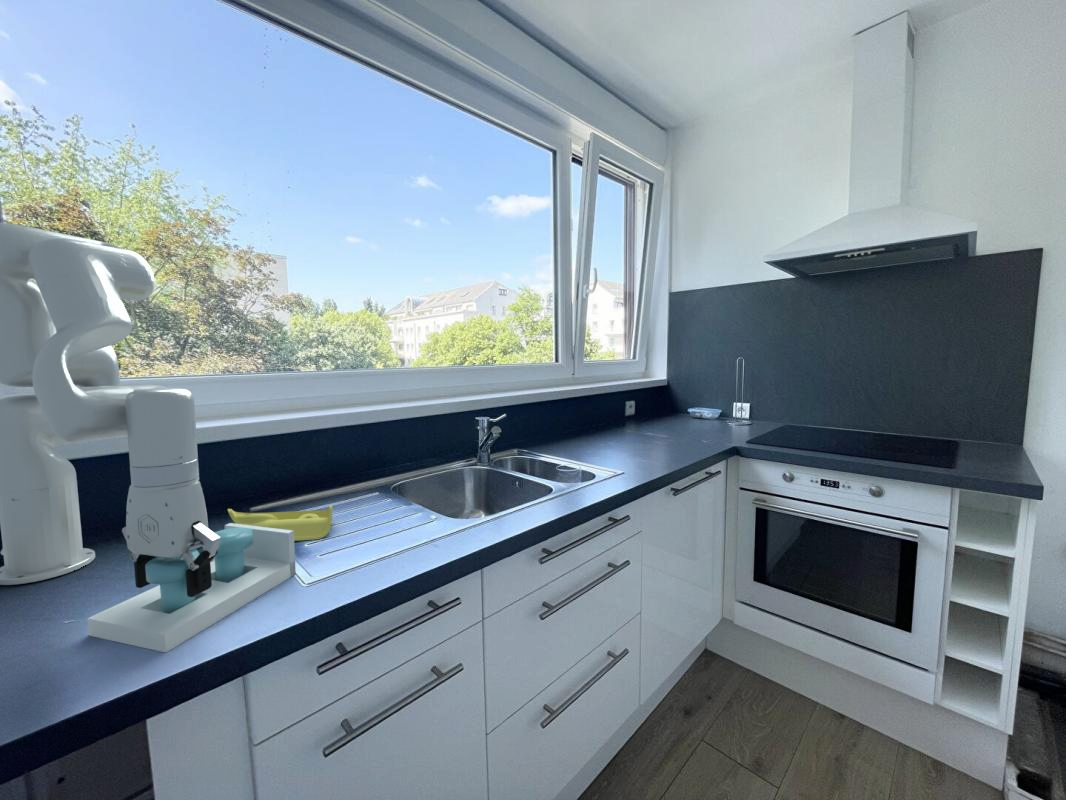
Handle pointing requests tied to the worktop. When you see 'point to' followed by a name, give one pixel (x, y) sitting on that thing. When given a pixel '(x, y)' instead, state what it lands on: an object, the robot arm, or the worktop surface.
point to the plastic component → (290, 522)
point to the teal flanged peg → (232, 553)
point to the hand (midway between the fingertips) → (174, 587)
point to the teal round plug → (170, 581)
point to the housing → (200, 597)
